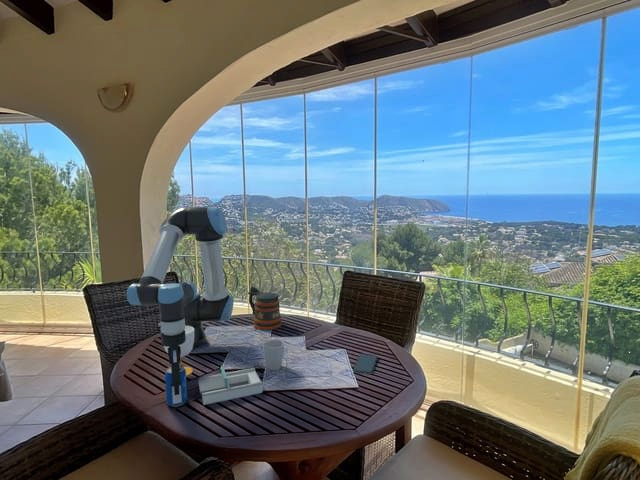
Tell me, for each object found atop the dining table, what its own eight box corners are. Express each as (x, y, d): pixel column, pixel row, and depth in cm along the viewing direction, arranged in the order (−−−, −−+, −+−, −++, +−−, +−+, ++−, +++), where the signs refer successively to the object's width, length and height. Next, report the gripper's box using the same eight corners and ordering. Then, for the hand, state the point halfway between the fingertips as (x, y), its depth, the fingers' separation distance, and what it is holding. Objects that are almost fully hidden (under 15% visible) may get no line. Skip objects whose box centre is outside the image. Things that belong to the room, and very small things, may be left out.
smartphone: (352, 369, 148) (360, 352, 162) (352, 373, 149) (360, 356, 163) (372, 372, 146) (377, 355, 160) (372, 376, 146) (377, 358, 160)
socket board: (200, 387, 137) (199, 377, 136) (254, 377, 144) (254, 367, 144) (203, 405, 126) (202, 394, 125) (262, 392, 133) (262, 382, 133)
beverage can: (180, 408, 124) (178, 374, 122) (162, 406, 125) (160, 372, 123) (191, 398, 130) (189, 365, 128) (174, 396, 131) (172, 363, 130)
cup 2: (287, 364, 155) (287, 341, 154) (279, 373, 147) (278, 348, 146) (269, 361, 157) (269, 338, 156) (260, 370, 150) (259, 346, 149)
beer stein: (240, 327, 197) (239, 289, 195) (256, 318, 211) (255, 283, 208) (272, 332, 190) (271, 293, 187) (286, 322, 203) (285, 286, 201)
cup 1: (157, 377, 145) (155, 334, 143) (179, 363, 156) (176, 324, 154) (182, 382, 141) (180, 338, 139) (202, 368, 152) (200, 327, 150)
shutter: (198, 381, 135) (197, 371, 134) (223, 376, 138) (223, 366, 138) (200, 393, 127) (199, 383, 126) (227, 388, 130) (227, 378, 129)
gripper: (160, 323, 132) (164, 385, 135) (160, 344, 114) (165, 415, 117) (183, 320, 134) (187, 381, 137) (186, 340, 117) (190, 409, 120)
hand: (177, 396), depth 127 cm, fingers closed on beverage can, 6 cm apart
